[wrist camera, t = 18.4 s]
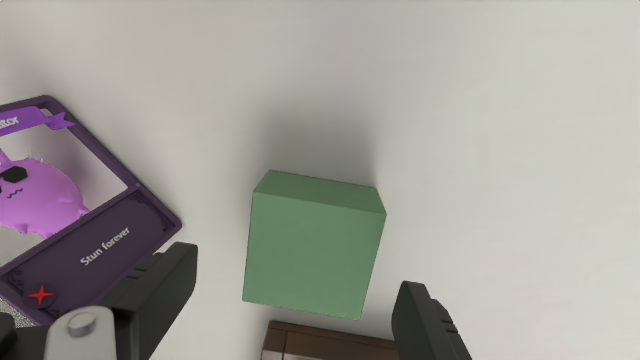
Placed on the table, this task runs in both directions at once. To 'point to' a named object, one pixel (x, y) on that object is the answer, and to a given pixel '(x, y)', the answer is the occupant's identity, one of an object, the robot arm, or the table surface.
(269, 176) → the sage pad
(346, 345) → the divided wooden tray
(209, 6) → the table surface
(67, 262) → the game card
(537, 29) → the table surface
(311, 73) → the table surface
